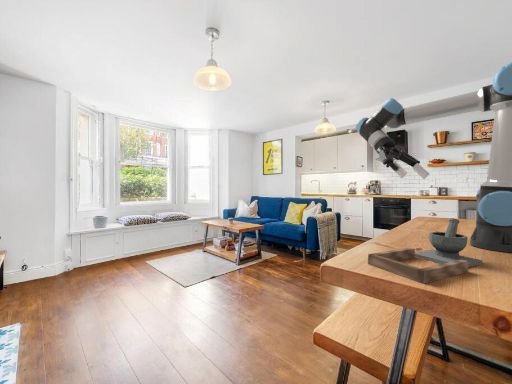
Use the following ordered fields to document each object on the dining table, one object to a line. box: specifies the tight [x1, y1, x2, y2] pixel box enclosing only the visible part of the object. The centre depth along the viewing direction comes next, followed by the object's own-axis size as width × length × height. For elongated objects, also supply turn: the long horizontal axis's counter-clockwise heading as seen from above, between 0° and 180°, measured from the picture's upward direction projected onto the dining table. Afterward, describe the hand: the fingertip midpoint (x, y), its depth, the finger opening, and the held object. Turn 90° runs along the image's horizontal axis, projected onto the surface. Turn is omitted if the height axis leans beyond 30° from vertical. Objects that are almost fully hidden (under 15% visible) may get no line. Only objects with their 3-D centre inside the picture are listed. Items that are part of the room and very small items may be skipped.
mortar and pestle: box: [428, 218, 468, 258], centre depth 79 cm, size 11×9×12 cm
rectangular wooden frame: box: [367, 247, 469, 285], centre depth 70 cm, size 20×16×3 cm
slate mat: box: [415, 248, 483, 268], centre depth 78 cm, size 12×14×1 cm
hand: (415, 176), depth 92 cm, fingers open, 13 cm apart
